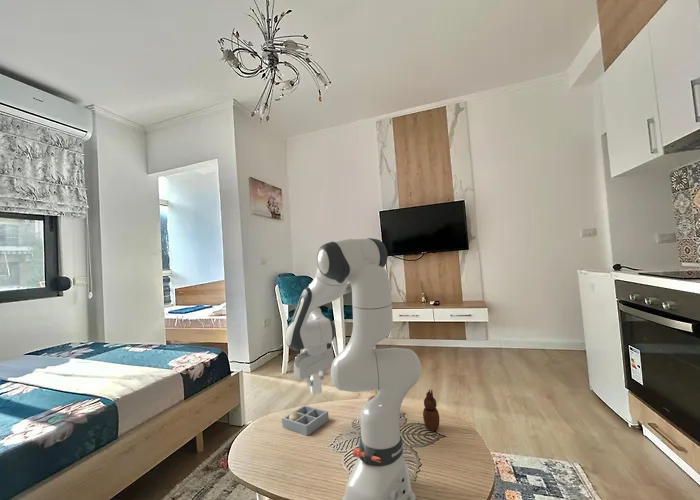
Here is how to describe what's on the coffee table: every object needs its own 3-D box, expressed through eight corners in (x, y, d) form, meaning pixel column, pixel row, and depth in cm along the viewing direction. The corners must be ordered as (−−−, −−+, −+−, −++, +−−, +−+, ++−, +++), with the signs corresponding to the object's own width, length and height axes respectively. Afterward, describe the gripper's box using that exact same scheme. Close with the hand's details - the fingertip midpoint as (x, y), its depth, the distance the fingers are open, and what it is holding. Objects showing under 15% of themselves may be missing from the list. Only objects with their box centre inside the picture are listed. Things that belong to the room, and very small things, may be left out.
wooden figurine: (442, 432, 117) (438, 391, 117) (426, 433, 117) (423, 392, 118) (437, 423, 124) (434, 384, 124) (422, 424, 124) (419, 385, 124)
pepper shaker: (312, 395, 124) (310, 371, 124) (310, 391, 128) (308, 368, 128) (322, 393, 125) (320, 369, 126) (320, 389, 129) (318, 366, 129)
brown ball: (295, 428, 126) (294, 416, 126) (286, 425, 129) (286, 413, 129) (303, 422, 130) (302, 411, 130) (295, 420, 133) (294, 408, 133)
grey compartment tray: (306, 435, 121) (306, 426, 121) (282, 427, 129) (282, 418, 129) (328, 420, 132) (328, 411, 132) (305, 413, 139) (304, 405, 140)
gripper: (301, 356, 117) (303, 394, 116) (334, 342, 134) (337, 375, 133) (288, 354, 120) (291, 391, 120) (323, 340, 137) (325, 372, 137)
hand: (315, 382), depth 127 cm, fingers closed on pepper shaker, 5 cm apart
